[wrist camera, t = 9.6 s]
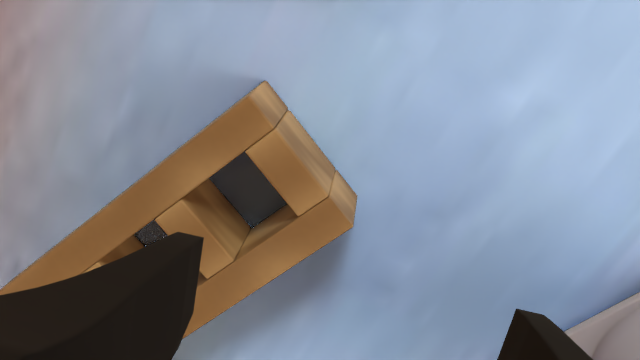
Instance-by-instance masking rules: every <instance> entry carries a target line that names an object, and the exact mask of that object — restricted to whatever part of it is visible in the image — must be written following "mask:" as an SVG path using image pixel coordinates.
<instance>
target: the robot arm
mask: <svg viewBox="0 0 640 360" xmlns="http://www.w3.org/2000/svg"><path fill="white" fill-rule="evenodd" d="M203 241H204V237H200V236H195V235H191V234H187V233H182V232H176V233H173V234H171V235H169V236H167V237H164V238H162V239H160V240H158V241H156V242H154V243H152V244H150V245H148V246H146V247H144V248H142V249H139V250H137V251H135V252H133V253H131V254H129V255H127V256H124V257H122V258H120V259H118V260H115V261H113V262H110V263H108V264H105V265H103V266H100V267H98V268H95V269H93V270H90V271H88V272H85V273H83V274H80V275H77V276H74V277H71V278H68V279H65V280H61V281H58V282H55V283H51V284H48V285H44V286H40V287H36V288H32V289H27V290H23V291H18V292H13V293H8V294H4V295H0V360H171V359H172V358H173V356H174V354H175V353H176V351H177V349H178V347H179V345H180V343H181V340H182V338H183V336H184V334H185V331H186V329H187V327H188V324H189V322H190V320H191V317H192V315H193V311H194V304H195V297H196V290H197V283H198V276H199V269H200V262H201V255H202V248H203ZM497 360H640V292H639V293H637V294H635V295H633V296H631V297H629V298H627V299H625V300H624V301H622V302H620V303H618V304H616V305H614V306H612V307H610V308H608V309H606V310H604V311H603V312H601V313H599V314H597V315H595V316H593V317H591V318H589V319H587V320H585V321H584V322H582V323H580V324H578V325H576V326H574V327H572V328H570V329H568V330H566V331H564V332H563V331H562V330H561V329H560V328H559V327H558V326H557V325H555V324H554V323H553V322H552V321H551V320H550V319H548V318H547V317H546V316H544V315H542V314H537V313H533V312H529V311H524V310H520V309H516V311H515V314H514V316H513V319H512V322H511V324H510V327H509V330H508V332H507V335H506V338H505V341H504V343H503V346H502V349H501V351H500V354H499V357H498V359H497Z"/></svg>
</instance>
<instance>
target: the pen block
mask: <svg viewBox="0 0 640 360" xmlns="http://www.w3.org/2000/svg"><path fill="white" fill-rule="evenodd" d="M245 150H246V151H245ZM244 151H245V152H246V154H247V155H248V156H249V158H250V159H251V160H252V161H253V162H254V164H255V165H256V166H257V167H258V169H259V170H260V171H261V172H262V173H263V175H264V176H265V177H266V178H267V180H268V181H269V182H270V183H271V184H272V186H273V187H274V188H275V189H276V191H277V192H278V193H279V194H280V195H281V197H282V198H283V199H284V200H285V201H286V203H287V204H286V205H285V206H283V207H282V208H281V209H279V210H278V211H276V212H275V213H273V214H272V215H271V216H269V217H268V218H266V219H265V220H263V221H262V222H261V223H259V224H258V225H256V226H255V227H253V228H252V229H251V227H250V226H249V225H248V224H247V222H246V221H245V220H244V219H243V218H242V217H241V215H240V214H239V213H238V212H237V211H236V209H235V208H234V207H233V206H232V205H231V204H230V202H229V201H228V200H227V199H226V198H225V196H224V195H223V194H222V193H221V192H220V191H219V189H218V188H217V187H216V186H215V185H214V183H213V182H212V181H211V180H210V179H209V178H210V177H211V176H212V175H214V174H215V173H216V172H218V171H219V170H220V169H222V168H223V167H224V166H225V165H227V164H228V163H229V162H231V161H232V160H233V159H235V158H236V157H237V156H239V155H240V154H241V153H243V152H244ZM356 202H357V195H356V194H355V192H354V191H353V190H352V189H351V187H350V186H349V185H348V183H347V182H346V181H345V180H344V178H343V177H342V176H341V175H340V173H339V172H338V171H337V170H335V167H334V166H333V165H332V164H331V162H330V161H329V160H328V158H327V157H326V156H325V155H324V153H323V152H322V151H321V150H320V148H319V147H318V146H317V144H316V143H315V142H314V141H313V139H312V138H311V137H310V136H309V134H308V133H307V132H306V130H305V129H304V128H303V127H302V125H301V124H300V123H299V122H298V120H297V119H296V118H295V116H294V115H293V114H292V113H291V111H289V110H288V108H287V106H286V105H285V104H284V102H283V101H282V100H281V99H280V97H279V96H278V95H277V93H276V92H275V91H274V90H273V88H272V87H271V86H270V85H269V83H268V82H267V81H263V82H262V83H261V84H260V85H258V86H257V87H256V88H254V89H253V90H252V91H251V92H249V93H248V94H247V95H246V96H244V97H243V98H242V99H240V100H239V101H238V102H237V103H235V104H234V105H233V106H232V107H230V108H229V109H228V110H227V111H225V112H224V113H223V114H221V115H220V116H219V117H218V118H216V119H215V120H214V121H213V122H211V123H210V124H209V125H207V126H206V127H205V128H204V129H202V130H201V131H200V132H199V133H197V134H196V135H195V136H194V137H192V138H191V139H190V140H188V141H187V142H186V143H185V144H183V145H182V146H181V147H180V148H178V149H177V150H176V151H174V152H173V153H172V154H171V155H169V156H168V157H167V158H166V159H164V160H163V161H162V162H161V163H159V164H158V165H157V166H155V167H154V168H153V169H152V170H150V171H149V172H148V173H147V174H145V175H144V176H143V177H141V178H140V179H139V180H138V181H136V182H135V183H134V184H133V185H131V186H130V187H129V188H128V189H126V190H125V191H124V192H122V193H121V194H120V195H119V196H117V197H116V198H115V199H114V200H112V201H111V202H110V203H108V204H107V205H106V206H105V207H103V208H102V209H101V210H100V211H98V212H97V213H96V214H95V215H93V216H92V217H91V218H89V219H88V220H87V221H86V222H84V223H83V224H82V225H81V226H79V227H78V228H77V229H75V230H74V231H73V232H72V233H70V234H69V235H68V236H67V237H65V238H64V239H63V240H62V241H60V242H59V243H58V244H56V245H55V246H54V247H53V248H51V249H50V250H49V251H48V252H46V253H45V254H44V255H42V256H41V257H40V258H39V259H37V260H36V261H35V262H34V263H32V264H31V265H30V266H29V267H27V268H26V269H25V270H23V271H22V272H21V273H20V274H18V275H17V276H16V277H15V278H14V279H12V280H11V281H10V282H9V283H8V284H6V285H5V286H4V287H3V288H2V289H0V295H4V294H8V293H13V292H18V291H23V290H27V289H32V288H36V287H40V286H44V285H48V284H51V283H55V282H58V281H61V280H65V279H68V278H71V277H74V276H77V275H80V274H83V273H85V272H88V271H90V270H93V269H95V268H98V267H100V266H103V265H105V264H108V263H110V262H113V261H115V260H118V259H120V258H122V257H124V256H127V255H129V254H131V253H133V252H135V251H137V250H139V249H142V248H144V246H143V244H142V243H141V242H140V241H139V240H138V239H137V238H136V237H135V236H134V234H135V233H136V232H138V231H139V230H140V229H142V228H143V227H144V226H146V225H147V224H148V223H150V222H151V221H152V220H154V219H155V218H156V219H155V221H156V222H157V224H158V225H159V226H160V227H161V228H162V229H163V230H164V232H165V233H166V234H167V235H168V236H169V235H171V234H173V233H176V232H182V233H187V234H191V235H195V236H200V237H204V241H203V248H202V255H201V262H200V269H199V276H198V283H197V290H196V297H195V304H194V311H193V315H192V317H191V320H190V322H189V324H188V327H187V329H186V331H185V334H184V336H183V338H185V337H186V336H188V335H189V334H191V333H192V332H194V331H195V330H197V329H198V328H200V327H201V326H203V325H204V324H206V323H208V322H209V321H211V320H212V319H214V318H215V317H217V316H218V315H220V314H221V313H223V312H224V311H226V310H227V309H229V308H230V307H232V306H233V305H235V304H236V303H238V302H240V301H241V300H243V299H244V298H246V297H247V296H249V295H250V294H252V293H253V292H255V291H256V290H258V289H259V288H261V287H262V286H264V285H265V284H267V283H268V282H270V281H271V280H273V279H275V278H276V277H278V276H279V275H281V274H282V273H284V272H285V271H287V270H288V269H290V268H291V267H293V266H294V265H296V264H297V263H299V262H300V261H302V260H303V259H305V258H307V257H308V256H310V255H311V254H313V253H314V252H316V251H317V250H319V249H320V248H322V247H323V246H325V245H326V244H328V243H329V242H331V241H332V240H334V239H335V238H337V237H339V236H340V235H342V234H343V233H345V232H346V231H348V230H349V229H351V228H352V227H353V224H354V217H355V209H356ZM183 338H182V339H183Z"/></svg>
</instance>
